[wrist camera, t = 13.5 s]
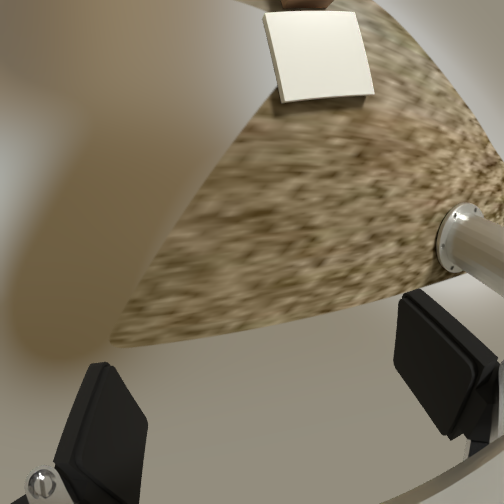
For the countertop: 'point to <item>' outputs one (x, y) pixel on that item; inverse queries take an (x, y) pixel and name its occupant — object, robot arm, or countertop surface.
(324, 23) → the cutting board
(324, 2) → the two-tone wooden block
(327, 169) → the countertop surface
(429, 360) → the robot arm
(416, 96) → the countertop surface
